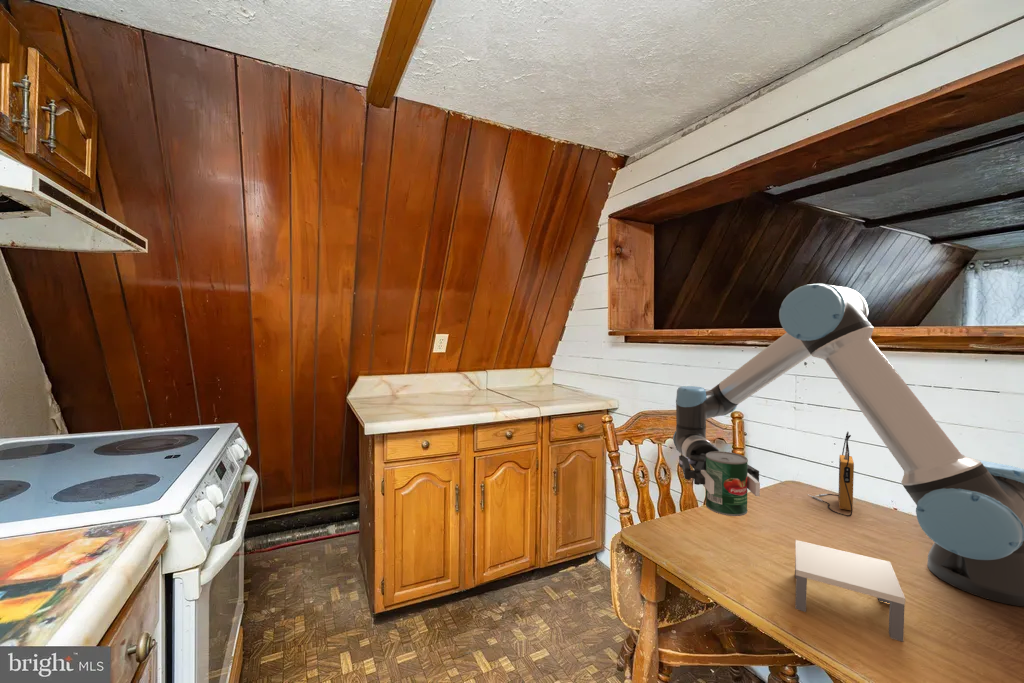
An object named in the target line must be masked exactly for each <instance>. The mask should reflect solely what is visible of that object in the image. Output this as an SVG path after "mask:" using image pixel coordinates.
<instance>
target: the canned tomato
mask: <svg viewBox="0 0 1024 683" xmlns="http://www.w3.org/2000/svg"><path fill="white" fill-rule="evenodd" d="M748 461H749V460H748V457H746V456H744V455H742V454H739V453H736V452H730V451H729V452H728V451H720V450H719V451H715V452H709V453H707V454H706V472H707V473H708V475H709V476H710V477H711V478H712V479H713V480H714V494H710V493H709V492H708V491H707V489H706V488H705V507H706V508H707V509H708V510H710V511H711V512H713V513H716V514H718V515H719V514H720V515H722V516H728V517H741V516H746V515H747V513H748V512H749V511H748V488H747V480H748V479H747V476H748V475H747V473H748V471H747V469H748V466H747V464H748V463H749V462H748Z"/></svg>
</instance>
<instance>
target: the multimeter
mask: <svg viewBox="0 0 1024 683" xmlns="http://www.w3.org/2000/svg"><path fill="white" fill-rule="evenodd" d="M851 437H852V435H851V434H849V431H847V432H846V434H845V438H844V444H843V448H842V453H841V454H839V458H838V462H839V466H838V494H833V493H821V494H820V493H819V494H817V495H816V496H815V495H810V494H807V493H806V494H807V496H808V497H809V496H810V497H811V498H813V499H815V500H817V501H819V502H824V503H825V504H827V508H828V510H830V511H832V512H833V513H836V514H839V515H842V516H846V517H851V516H852V515H853V508H854V506H853V505H854V504H853V503H854V475H855V474H854V471H855V470H854V469H855V464H854V460H853V456H850V448H849V440H850V438H851ZM825 496H837V497H838V498H837V499H838V505H839V509H840V510H845V511H850V514H844V513H841V512H837V511H835V510H833V509H832V508H830V505H831V504H830V503H829V502H827V501H824V500H823V499H822V498H819V497H825Z"/></svg>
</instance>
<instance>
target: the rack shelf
mask: <svg viewBox="0 0 1024 683" xmlns="http://www.w3.org/2000/svg"><path fill="white" fill-rule="evenodd" d="M794 546H795V550H794V551H795V557H794V559H795V561H794V563H795V566H794V569H795V570H794V579H795V578H796V579H795V604H794V605H795V610H799V611H801V612H805V613H806V612H807V589H808V588H807V585H808V579H809V580H812V581H816V582H819V583H823V584H827V585H831V586H835V587H838V588H842V589H845V590H850V591H853V592H857V593H859V594H860V593H861V594H863V595H868V596H871V597H874V598H877V599H879V600H878V602H879V601H883V602H887V603H890V605H888V606H889V607H888V608H889V609H888V612H889V613H888V635H889V638H890V639H892V640H896V641H899V642H901V643H904V633H905V606H906V597H905V594H904V592H903V589H902V588H901V585H900V582H899V579H898V578H897V574H896V573H895V571H894V568H893V566H892V562H891V561H889V560H884V559H880V558H876V557H871V556H867V555H862V554H858V553H854V552H849V551H846V550H845V551H844V550H840V549H837V548H836V549H835V548H832V547H828V546H823V545H819V544H815V543H810V542H806V541H803V540H798V539H795V545H794Z"/></svg>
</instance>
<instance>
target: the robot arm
mask: <svg viewBox="0 0 1024 683" xmlns="http://www.w3.org/2000/svg"><path fill="white" fill-rule="evenodd" d="M868 316H869V307H868V303H867V301H866V299H865V298H864V296H862V294H861V293H859V292H858V291H857V290H855V289H852V288H850V287H847V286H841V285H832V284H827V283H822V282H817V283H811V284H804V285H802V286H799V287H797V288H795V289H794V290H792V291H790V292H789V293H788V294H787V295H786V297H785V298H784V299H783V301H782V302H781V305H780V308H779V312H778V318H779V319H778V320H779V322H780V325H781V327H782V328H783V330H784V331H785V333H784V334H783V335H782V336H780V337H778V338H777V339H776V340H775V341H773V342H772V343H770V345H768V346H767V347H765V348H764V349H763V350H761V351H760V352H759V353H758V354H756V355H755V356H753V357H752V358H751V359H750V360H748V361H747V362H745V363H744V364H743V365H741V366H740V367H739V368H738V369H736V370H735V371H734V372H732V373H731V374H730V375H728V376H727V377H726V378H725V379H723V380H722V381H720V382H719V383H718V384H716V385H715V386H714V387H713V388H711V389H709V390H706V389H705V387H702V386H694V385H693V386H692V385H688V386H686V385H685V386H684V385H683V386H679V387H678V388H677V389H676V397H675V410H676V411H675V412H676V413H675V414H676V415H675V418H676V420H675V422H676V424H675V429H676V430H675V432H674V433H673V437H672V441H673V444H674V446H675V448H676V450H677V451H678V453H680V454H681V455H678V466H679V468H681V470H682V472H683V477H684V480H686V481H690V480H691V479H693V481H694V482H693V484H694V485H697V486H699V485H702V486H703V488H704V489H705V490H706V489H707V491H708V492H709V493H710V494H714V480H713V479H712V478H711V477H710V476H709V475H708V473H707V472H706V454H707V453H709V452H715V451H720V450H719V449H718V448H717V447H716V446H715V445H714V444H712V442H711V441H710V440H708V439H707V438H706V435H707V434H706V433H707V432H706V431H707V419H711V418H717V417H720V416H726V415H728V414H730V413H733V412H734V411H735V410H736V409H737V407H738V405H739V404H740V403H743V402H744V401H746V400H747V399H748V398H750V397H751V396H753V395H754V394H756V393H757V392H758V391H760V390H762V389H763V388H764V387H766V386H768V385H769V384H770V383H772V382H774V381H775V380H776V379H777V378H779V377H781V376H782V375H783V374H785V373H787V372H788V371H789V370H791V369H792V368H794V367H796V366H797V365H799V364H801V362H803V361H804V360H806V359H808V357H810V356H811V357H814V358H818V359H821V360H823V361H825V362H826V364H827V365H828V366H829V368H830V369H831V371H832V372H833V373H834V375H835V376H836V378H837V380H839V382H840V383H841V385H842V386H843V388H844V389H845V390H846V392H847V393H848V395H849V396H850V398H851V399H852V401H854V403H855V404H856V406H857V407H858V409H859V410H860V411H861V413H862V414H863V415H864V417H865V419H866V420H867V421H868V423H869V424H870V425H871V427H872V428H873V430H874V431H875V432H876V434H877V435H878V436H879V438H880V439H881V441H882V442H883V444H884V445H885V446H886V448H887V449H888V450H889V452H890V453H891V454H892V456H893V458H894V459H895V460H896V462H897V463H898V465H900V468H902V471H903V476H902V479H901V485H902V486H903V488H904V489H905V491H906V492H907V494H908V495H909V496H910V498H911V499H912V500H913V503H915V505H916V508H915V515H916V520H917V522H918V525H919V527H920V528H921V530H922V531H923V532H924V534H925V535H926V536H927V537H928V538H929V539H930V540H931V541H933V544H932V545H931V548H930V549H929V552H928V554H927V568H928V570H929V571H930V572H931V573H932V574H933V575H934V576H936V577H938V578H939V579H940V580H942V581H944V582H946V583H947V584H949V585H951V586H953V587H955V588H957V589H958V590H959V589H960V590H962V591H964V592H966V593H969V594H972V595H975V596H976V597H977V596H978V597H980V598H983V599H987V600H990V601H993V602H996V603H997V602H998V603H1001V604H1007V605H1012V606H1018V607H1024V468H1021V467H1017V466H1013V465H1008V464H1003V463H1000V462H999V463H998V462H992V461H987V460H980V459H974V458H972V457H968V456H965V455H964V454H962V453H961V452H960V451H959V449H958V448H957V447H956V446H955V444H954V443H953V441H951V439H950V438H949V437H948V435H947V433H945V432H944V430H943V428H941V426H940V425H939V424H938V423H937V421H936V420H935V419H934V418H933V416H932V415H931V414H930V412H929V411H928V410H927V409H926V407H925V406H924V405H923V403H922V402H921V401H920V400H919V399H918V397H917V396H916V395H915V393H914V392H913V391H912V389H911V388H910V387H909V386H908V384H907V383H906V382H905V380H904V379H903V378H902V377H901V375H900V374H899V373H898V372H897V370H896V369H895V368H894V366H893V365H892V363H890V362H889V360H888V359H887V358H886V356H885V355H884V354H883V353H882V352H881V350H880V349H879V347H878V346H877V345H876V344H875V342H874V341H873V340H872V335H873V332H874V328H875V327H874V326H873V325H872V323H871V322H870V321H869V320H868ZM747 466H748V469H747V471H748V473H747V475H748V476H747V479H748V480H747V490H748V491H749V492H750V493H752V494H753V495H754V496H755V497H761V483H760V471H759V470H758V469H756V468H755V467H752V466H751V465H749V464H748V463H747Z"/></svg>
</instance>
